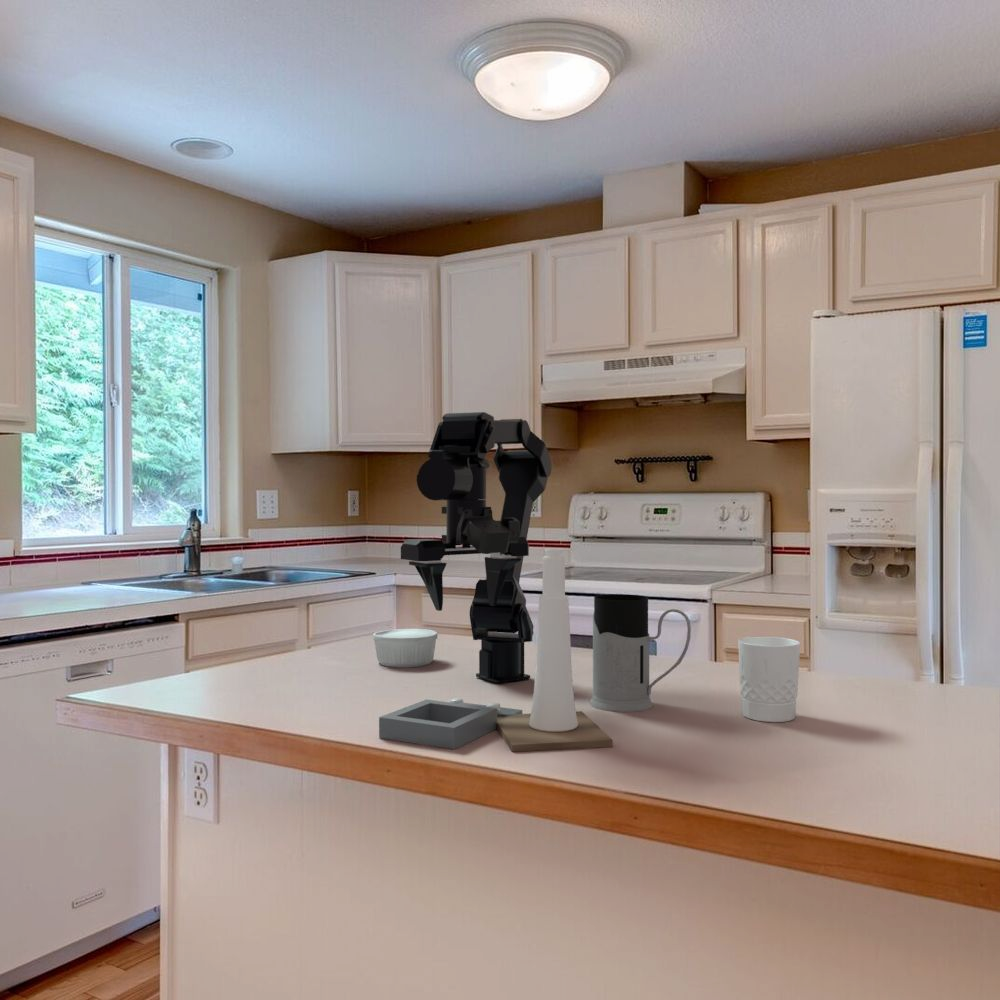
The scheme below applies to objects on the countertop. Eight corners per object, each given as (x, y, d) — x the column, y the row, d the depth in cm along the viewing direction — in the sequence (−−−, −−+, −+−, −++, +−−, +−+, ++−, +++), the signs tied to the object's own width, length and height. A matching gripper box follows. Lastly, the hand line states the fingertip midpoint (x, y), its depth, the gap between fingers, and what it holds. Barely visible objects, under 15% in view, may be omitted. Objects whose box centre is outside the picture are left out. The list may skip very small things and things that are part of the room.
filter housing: (454, 707, 127) (453, 689, 127) (522, 716, 122) (522, 697, 122) (379, 737, 112) (379, 717, 112) (453, 749, 107) (453, 727, 107)
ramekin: (382, 656, 166) (382, 627, 166) (443, 657, 165) (443, 628, 165) (365, 668, 155) (365, 637, 155) (430, 670, 154) (429, 638, 154)
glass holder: (602, 694, 135) (602, 592, 135) (698, 704, 129) (698, 597, 128) (580, 707, 127) (580, 599, 127) (681, 718, 121) (682, 604, 121)
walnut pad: (492, 721, 120) (492, 715, 120) (581, 717, 122) (581, 711, 122) (511, 751, 106) (511, 744, 106) (612, 746, 108) (612, 739, 108)
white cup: (767, 726, 117) (767, 648, 117) (725, 713, 124) (725, 639, 124) (813, 719, 120) (813, 643, 120) (769, 706, 127) (769, 634, 127)
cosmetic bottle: (556, 735, 110) (557, 551, 109) (519, 726, 114) (519, 548, 114) (587, 725, 114) (588, 548, 114) (550, 717, 118) (550, 546, 118)
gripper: (439, 501, 121) (439, 620, 121) (551, 499, 131) (552, 609, 131) (398, 500, 130) (398, 610, 130) (506, 499, 140) (507, 601, 141)
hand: (466, 608), depth 133 cm, fingers open, 9 cm apart
